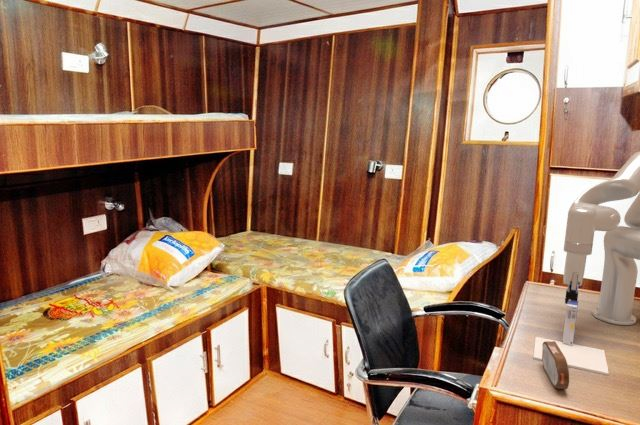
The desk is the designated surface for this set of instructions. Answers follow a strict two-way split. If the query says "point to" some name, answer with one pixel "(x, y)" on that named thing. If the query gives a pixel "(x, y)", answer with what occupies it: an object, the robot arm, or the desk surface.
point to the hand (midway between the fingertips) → (570, 303)
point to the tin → (555, 365)
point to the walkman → (570, 322)
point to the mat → (577, 356)
